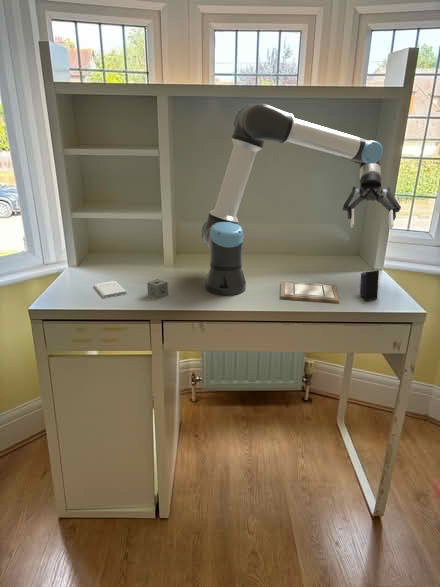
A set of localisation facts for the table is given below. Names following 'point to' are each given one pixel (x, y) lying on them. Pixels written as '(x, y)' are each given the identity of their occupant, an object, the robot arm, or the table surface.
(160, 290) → the dice cube
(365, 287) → the speaker
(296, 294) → the picture frame
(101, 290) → the external hard drive
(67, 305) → the table surface
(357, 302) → the table surface
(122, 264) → the table surface
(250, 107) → the robot arm
